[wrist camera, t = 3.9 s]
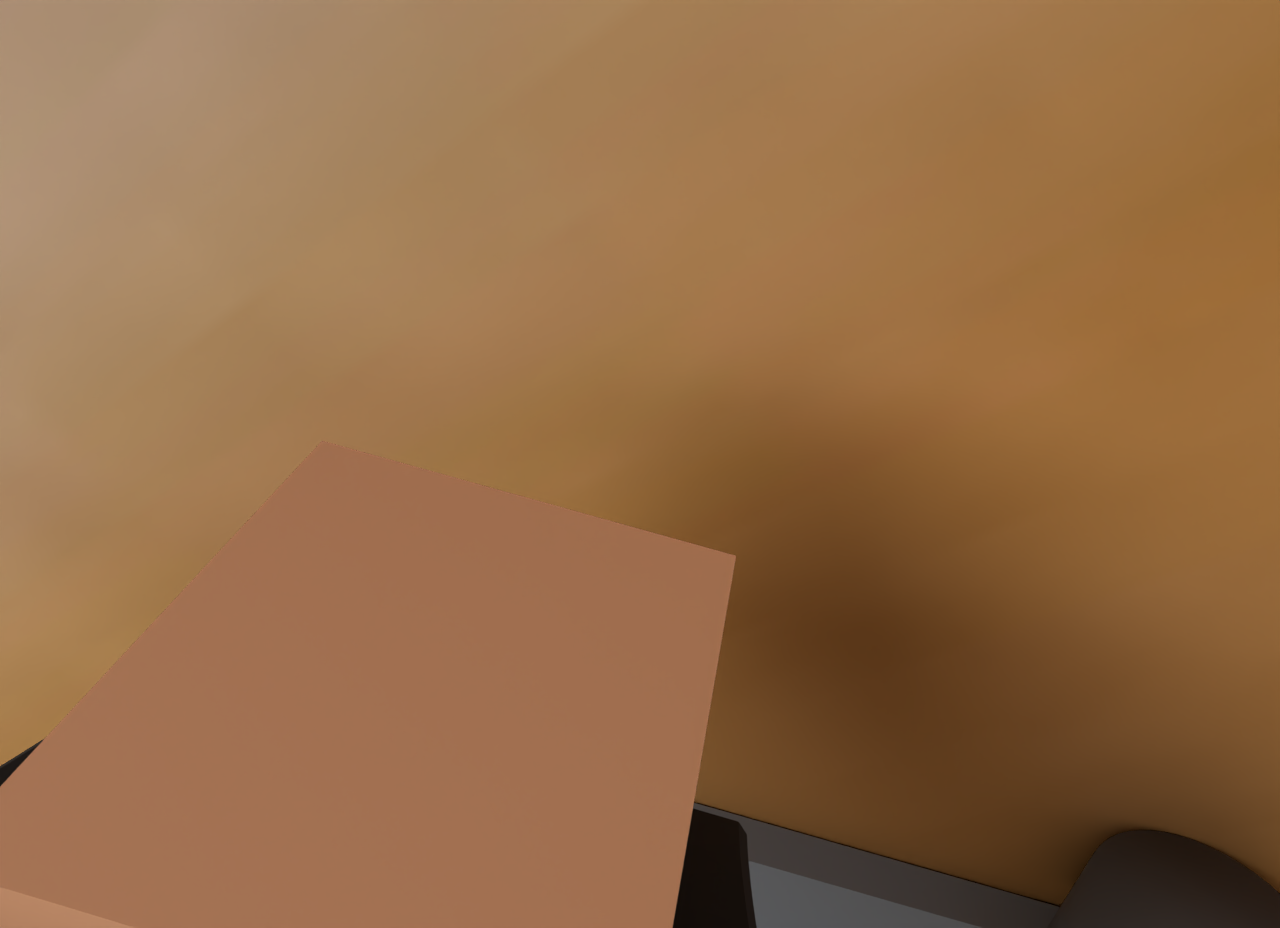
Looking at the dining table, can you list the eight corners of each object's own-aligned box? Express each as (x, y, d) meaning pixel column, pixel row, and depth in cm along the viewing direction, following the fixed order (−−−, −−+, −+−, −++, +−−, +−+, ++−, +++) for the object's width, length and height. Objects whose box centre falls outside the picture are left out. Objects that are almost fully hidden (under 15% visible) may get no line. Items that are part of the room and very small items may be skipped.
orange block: (735, 556, 10) (645, 1080, 6) (626, 903, 12) (505, 1450, 8) (322, 440, 10) (-74, 865, 6) (295, 805, 13) (6, 1291, 8)
